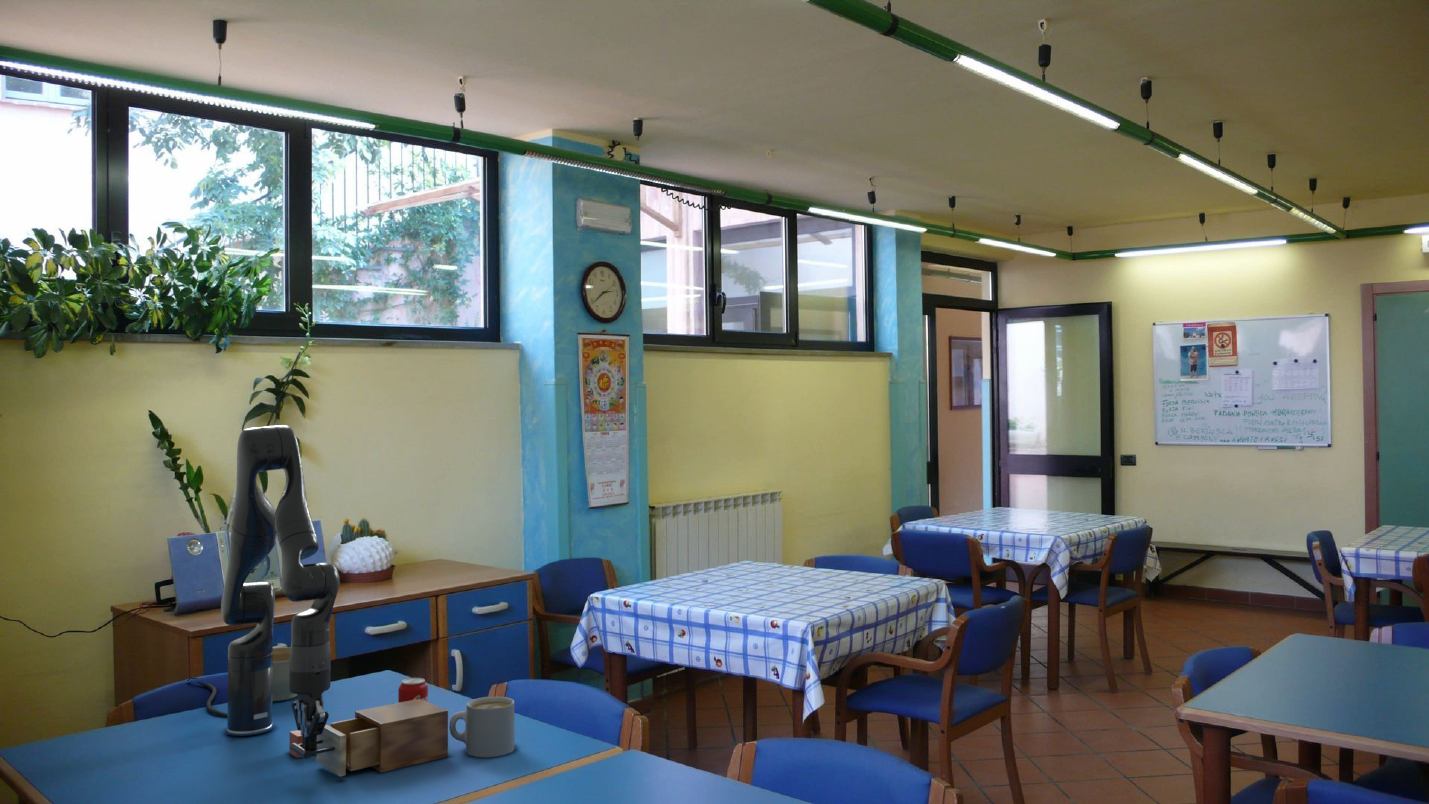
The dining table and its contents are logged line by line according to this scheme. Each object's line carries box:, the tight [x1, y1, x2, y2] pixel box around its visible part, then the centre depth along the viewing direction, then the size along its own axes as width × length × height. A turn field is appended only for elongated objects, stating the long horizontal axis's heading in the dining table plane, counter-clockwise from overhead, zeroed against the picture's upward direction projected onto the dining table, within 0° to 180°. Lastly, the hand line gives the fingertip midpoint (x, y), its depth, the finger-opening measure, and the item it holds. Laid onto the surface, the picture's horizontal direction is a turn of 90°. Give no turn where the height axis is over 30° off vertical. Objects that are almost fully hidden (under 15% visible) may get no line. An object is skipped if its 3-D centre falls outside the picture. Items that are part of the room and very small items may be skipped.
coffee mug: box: [448, 696, 515, 758], centre depth 222 cm, size 13×10×10 cm
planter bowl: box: [272, 646, 297, 702], centre depth 263 cm, size 16×16×11 cm
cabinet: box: [354, 699, 449, 773], centre depth 217 cm, size 15×13×10 cm
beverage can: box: [397, 677, 429, 703], centre depth 232 cm, size 6×6×12 cm
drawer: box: [290, 717, 380, 777], centre depth 209 cm, size 20×11×8 cm, turn 132°
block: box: [288, 729, 317, 759], centre depth 219 cm, size 4×4×4 cm
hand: (309, 755), depth 204 cm, fingers closed
